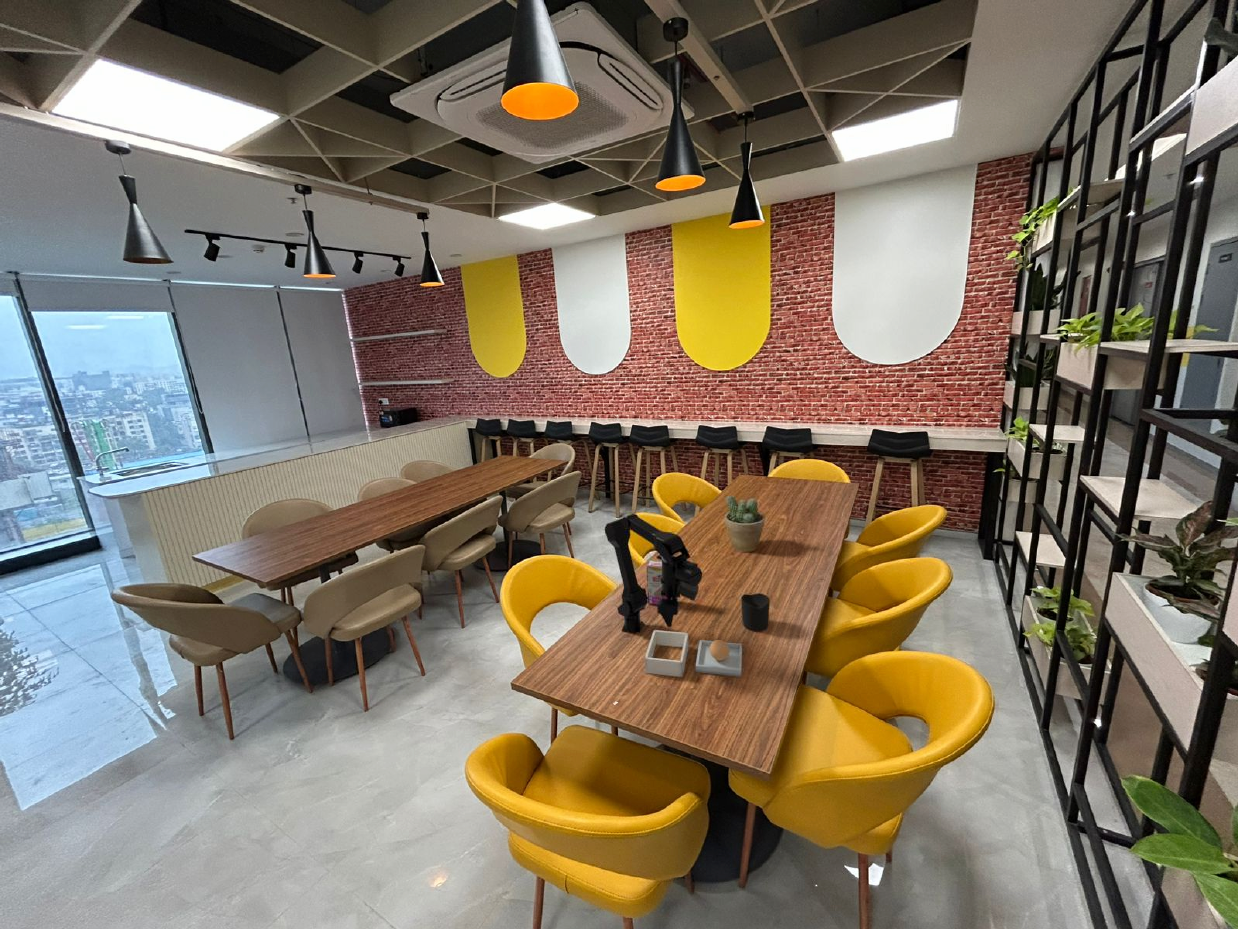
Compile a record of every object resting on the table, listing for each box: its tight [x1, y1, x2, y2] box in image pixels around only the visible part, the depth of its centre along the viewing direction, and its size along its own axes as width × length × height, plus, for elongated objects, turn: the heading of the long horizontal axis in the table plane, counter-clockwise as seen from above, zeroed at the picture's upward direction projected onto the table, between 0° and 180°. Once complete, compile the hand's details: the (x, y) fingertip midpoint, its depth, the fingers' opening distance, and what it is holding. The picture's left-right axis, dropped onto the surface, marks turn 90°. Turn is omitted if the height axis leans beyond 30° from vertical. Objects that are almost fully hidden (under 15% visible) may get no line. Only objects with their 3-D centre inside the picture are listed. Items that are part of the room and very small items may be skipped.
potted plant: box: [724, 495, 766, 553], centre depth 232 cm, size 18×19×25 cm
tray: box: [695, 639, 743, 678], centre depth 155 cm, size 13×13×2 cm
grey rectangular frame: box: [644, 629, 690, 678], centre depth 156 cm, size 15×11×5 cm
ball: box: [710, 639, 729, 660], centre depth 154 cm, size 6×6×6 cm
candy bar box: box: [646, 560, 679, 606], centre depth 189 cm, size 11×5×16 cm, turn 74°
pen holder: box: [740, 593, 771, 632], centre depth 171 cm, size 9×9×10 cm
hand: (671, 618), depth 159 cm, fingers open, 9 cm apart
